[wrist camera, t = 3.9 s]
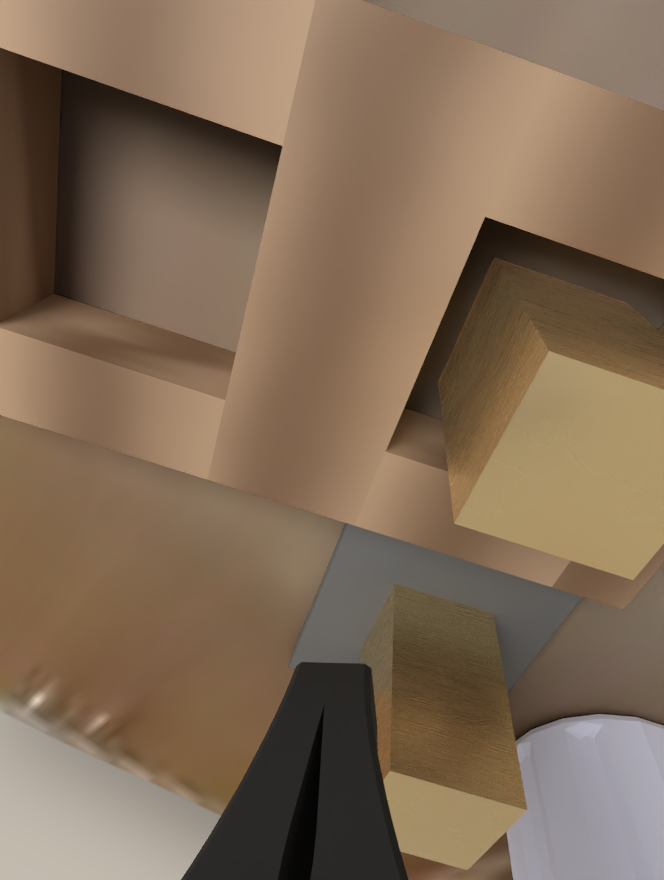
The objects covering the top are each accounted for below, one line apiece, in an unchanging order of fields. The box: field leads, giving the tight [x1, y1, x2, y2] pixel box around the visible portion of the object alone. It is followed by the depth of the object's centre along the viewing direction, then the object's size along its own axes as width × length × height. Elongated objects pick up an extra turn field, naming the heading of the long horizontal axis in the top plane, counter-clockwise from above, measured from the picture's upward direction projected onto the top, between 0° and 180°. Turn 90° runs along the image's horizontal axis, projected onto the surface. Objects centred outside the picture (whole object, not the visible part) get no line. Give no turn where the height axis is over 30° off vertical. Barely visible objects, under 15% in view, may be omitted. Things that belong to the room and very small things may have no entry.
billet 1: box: [360, 583, 527, 870], centre depth 19 cm, size 4×4×7 cm
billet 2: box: [438, 257, 664, 580], centre depth 14 cm, size 4×4×7 cm
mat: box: [289, 523, 582, 692], centre depth 23 cm, size 9×9×1 cm
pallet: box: [0, 0, 664, 610], centre depth 15 cm, size 22×12×3 cm, turn 73°
